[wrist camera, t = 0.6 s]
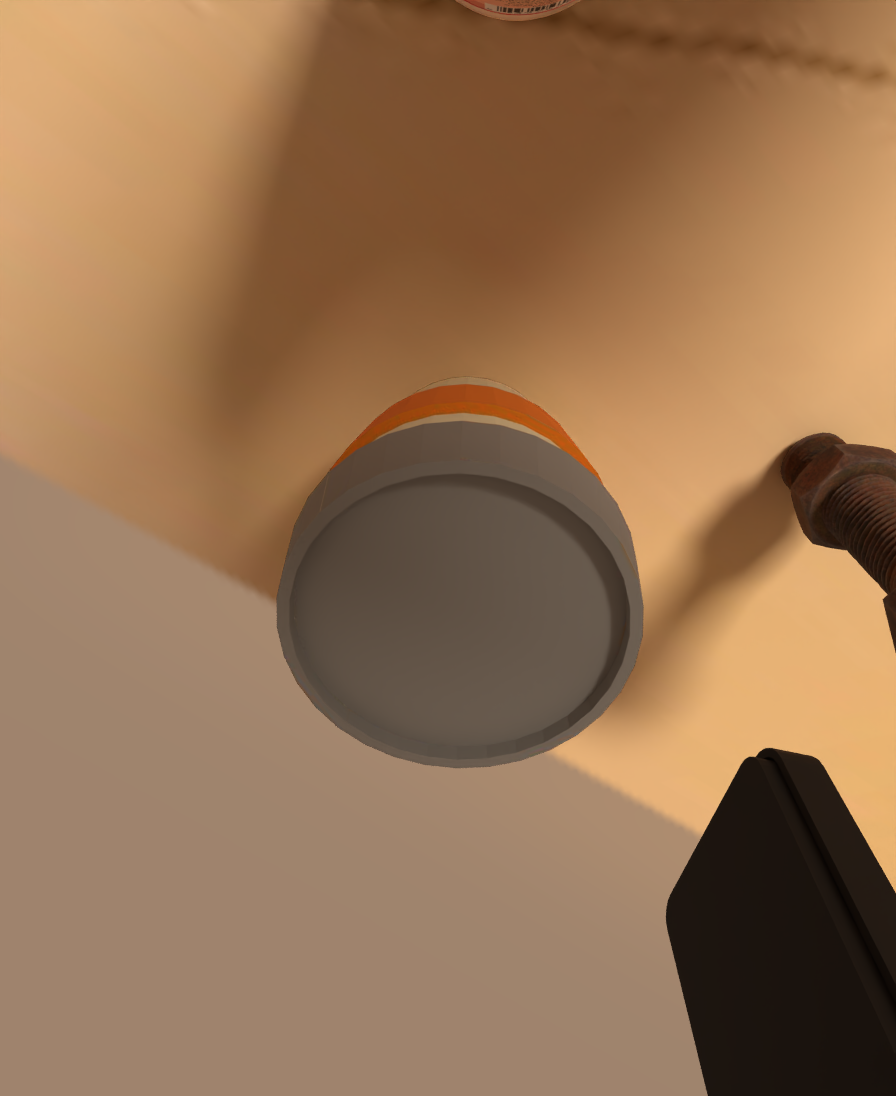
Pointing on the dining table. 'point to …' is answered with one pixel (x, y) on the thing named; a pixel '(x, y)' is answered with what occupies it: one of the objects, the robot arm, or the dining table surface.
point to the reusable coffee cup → (461, 583)
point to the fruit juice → (517, 8)
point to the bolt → (848, 504)
